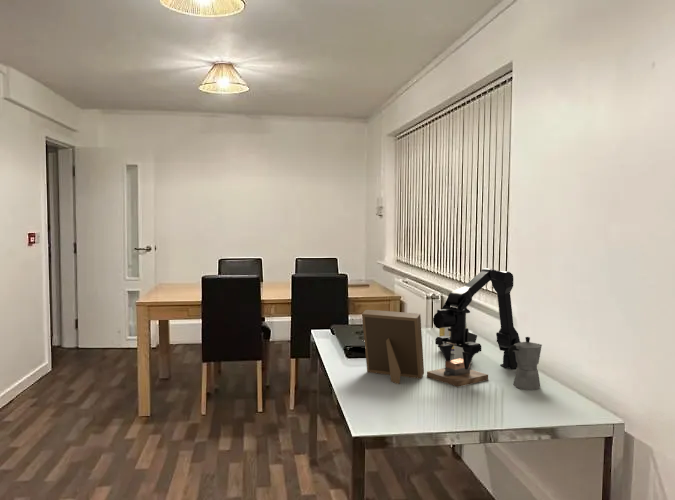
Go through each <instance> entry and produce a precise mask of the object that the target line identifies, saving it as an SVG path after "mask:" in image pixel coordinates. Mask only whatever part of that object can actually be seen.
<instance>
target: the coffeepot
mask: <svg viewBox="0 0 675 500" xmlns="http://www.w3.org/2000/svg"><path fill="white" fill-rule="evenodd" d="M542 346H543V344H540V343H536V342H531V337H529V336H526V337H525V341H520V343H516V344H514V345H512V346H510V348H509V349H508V354H509V358H510V362H511V365H512V368H515V373H514V374H515V375H514V379H513V386H514V387H515V388H516V389H520V390H525V391H535V390H539V389H540V388H541V381H540V375H539V370H538V365H539V362H540V357H541V351H542ZM514 350H515V356H516V362H517V363H518V367H517V365H515V364H514V362H515V361H514V358H513V351H514Z"/></svg>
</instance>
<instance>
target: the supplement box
mask: <svg viewBox="0 0 675 500" xmlns="http://www.w3.org/2000/svg"><path fill="white" fill-rule="evenodd" d="M469 333H472V334H474V333H473V330H469ZM465 343H470V342H465ZM460 345H461V344H460ZM462 352H464V350H463V348H462V347H458V346H455V351H454V354H453V358H454V359H459V358H461V359H463V354H462ZM454 359H453V360H454ZM471 364H473V359H472V360H471V362H470V365H471Z"/></svg>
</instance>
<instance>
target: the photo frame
mask: <svg viewBox="0 0 675 500" xmlns="http://www.w3.org/2000/svg"><path fill="white" fill-rule="evenodd" d="M421 316H422V315H421V313H418V312H416V313H414V312H406V311H405V312H403V311H401V312H400V311H393V310H392V311H391V310H379V309H378V310H377V309H365V310H364V311H363V312H362V313H361V318H362V329H363V340H364V342H365V363H366V364H365V365H366V371H367V373H371V374H372V373H373V374H374V373H375V374H381V375H388V376H390V382H392V383H394V384H397V385H400V382H401V377H403V378H413V379H420V380H421V379H422V378H423V376H424V374H425V368H424V366H425V364H424V352H423V351H424V349H423V336H422V335H423V334H422V333H423V331H422V319H421Z"/></svg>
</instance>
